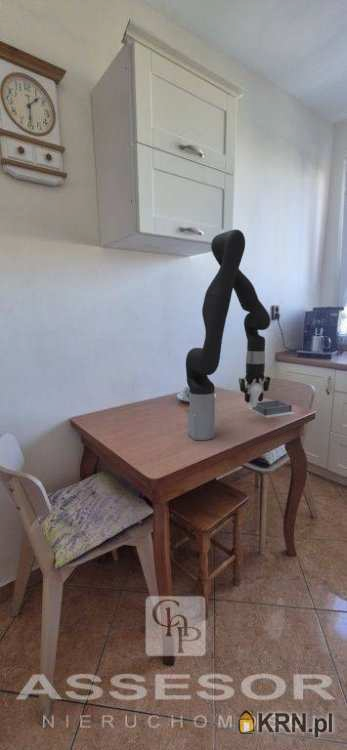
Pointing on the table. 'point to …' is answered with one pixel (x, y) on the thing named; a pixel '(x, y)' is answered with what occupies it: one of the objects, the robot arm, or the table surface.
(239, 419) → the table surface
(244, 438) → the table surface
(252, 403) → the lightbulb
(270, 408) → the grey flat square tray
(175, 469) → the table surface
